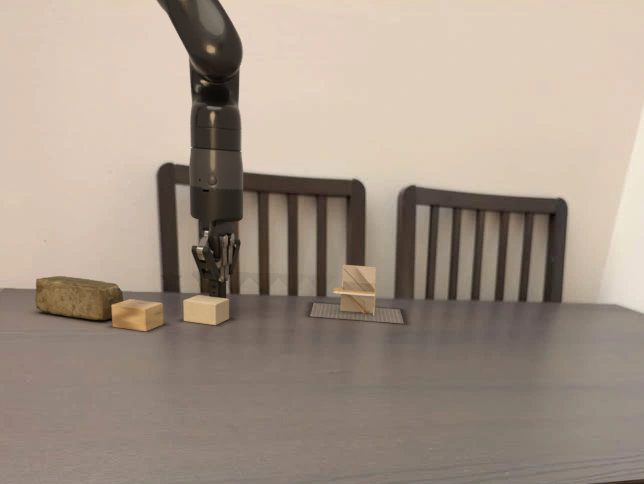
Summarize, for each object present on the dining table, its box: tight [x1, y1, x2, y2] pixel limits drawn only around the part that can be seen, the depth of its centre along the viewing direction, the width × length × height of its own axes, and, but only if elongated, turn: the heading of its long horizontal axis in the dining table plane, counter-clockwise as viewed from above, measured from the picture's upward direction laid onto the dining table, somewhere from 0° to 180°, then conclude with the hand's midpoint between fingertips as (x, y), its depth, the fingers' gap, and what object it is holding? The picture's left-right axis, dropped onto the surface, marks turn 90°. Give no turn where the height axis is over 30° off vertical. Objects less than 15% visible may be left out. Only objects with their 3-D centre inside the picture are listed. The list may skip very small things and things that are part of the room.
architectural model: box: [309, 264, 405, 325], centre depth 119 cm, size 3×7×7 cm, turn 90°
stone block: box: [34, 275, 124, 321], centre depth 103 cm, size 6×12×5 cm, turn 74°
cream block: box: [182, 294, 230, 326], centre depth 107 cm, size 5×5×3 cm
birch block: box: [111, 298, 164, 332], centre depth 101 cm, size 5×5×3 cm
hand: (217, 306), depth 111 cm, fingers closed
